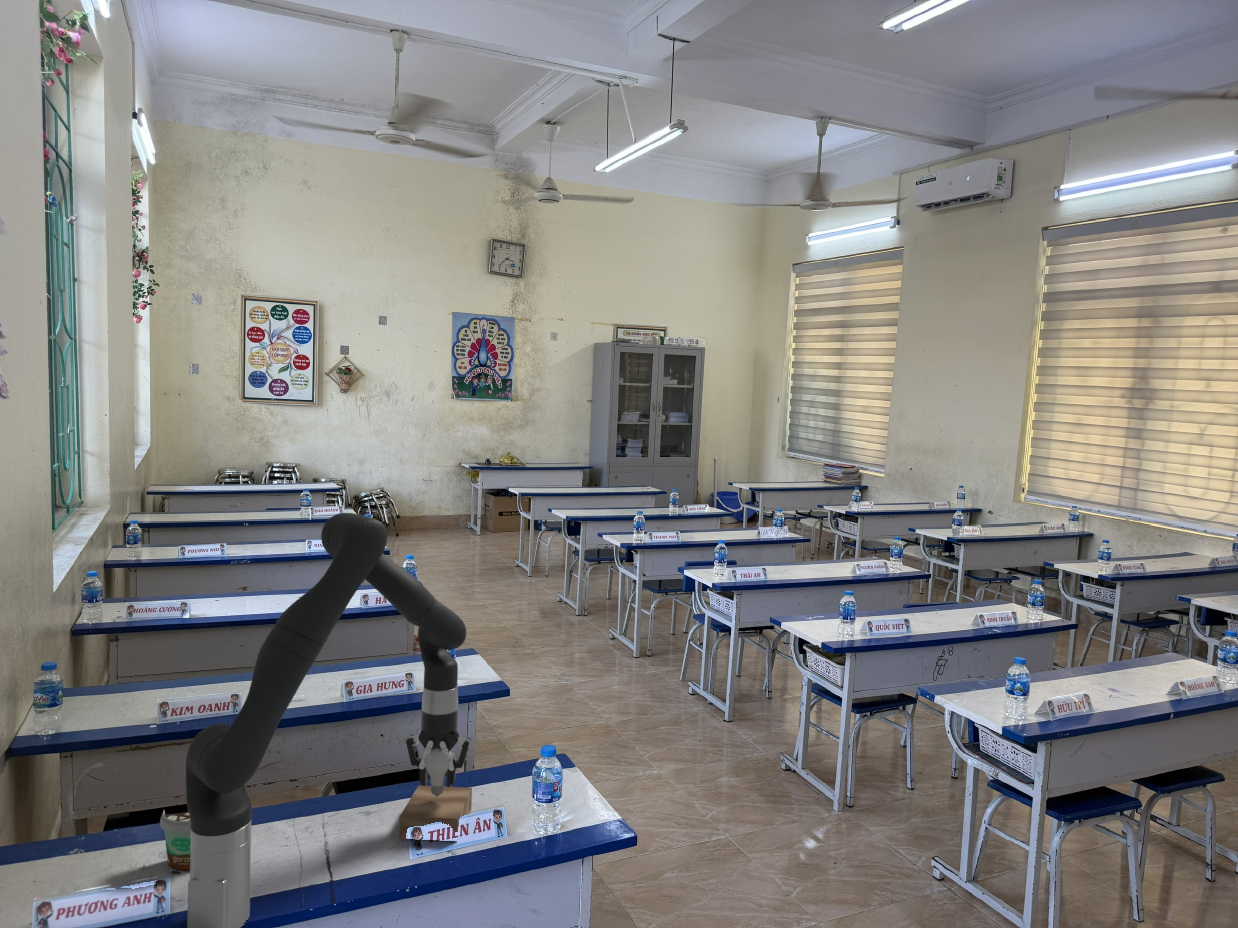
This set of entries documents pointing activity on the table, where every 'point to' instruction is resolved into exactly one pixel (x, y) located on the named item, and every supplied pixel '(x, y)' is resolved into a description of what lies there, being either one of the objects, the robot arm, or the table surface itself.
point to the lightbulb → (437, 769)
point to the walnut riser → (435, 808)
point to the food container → (177, 839)
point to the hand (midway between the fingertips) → (437, 784)
